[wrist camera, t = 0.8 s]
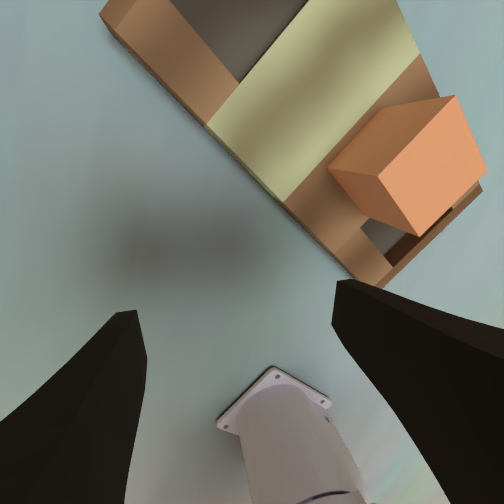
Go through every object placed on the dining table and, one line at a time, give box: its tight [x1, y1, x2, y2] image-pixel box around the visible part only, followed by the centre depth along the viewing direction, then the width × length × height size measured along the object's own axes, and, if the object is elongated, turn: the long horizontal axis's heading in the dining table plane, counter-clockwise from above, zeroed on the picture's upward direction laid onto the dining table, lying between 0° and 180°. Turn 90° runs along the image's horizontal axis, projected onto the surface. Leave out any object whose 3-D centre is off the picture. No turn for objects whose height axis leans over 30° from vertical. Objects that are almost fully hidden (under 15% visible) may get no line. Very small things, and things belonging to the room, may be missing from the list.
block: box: [327, 95, 488, 237], centre depth 14 cm, size 4×4×4 cm
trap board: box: [99, 0, 483, 289], centre depth 16 cm, size 23×11×2 cm, turn 46°
